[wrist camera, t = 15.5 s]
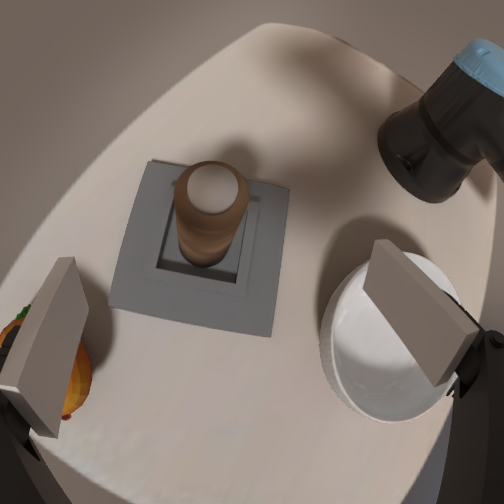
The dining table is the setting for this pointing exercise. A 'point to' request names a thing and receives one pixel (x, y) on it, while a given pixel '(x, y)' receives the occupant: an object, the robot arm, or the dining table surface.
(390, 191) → the dining table surface
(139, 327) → the dining table surface
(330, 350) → the cereal bowl
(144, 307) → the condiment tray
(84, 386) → the cheeseburger
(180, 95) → the dining table surface
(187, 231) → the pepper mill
